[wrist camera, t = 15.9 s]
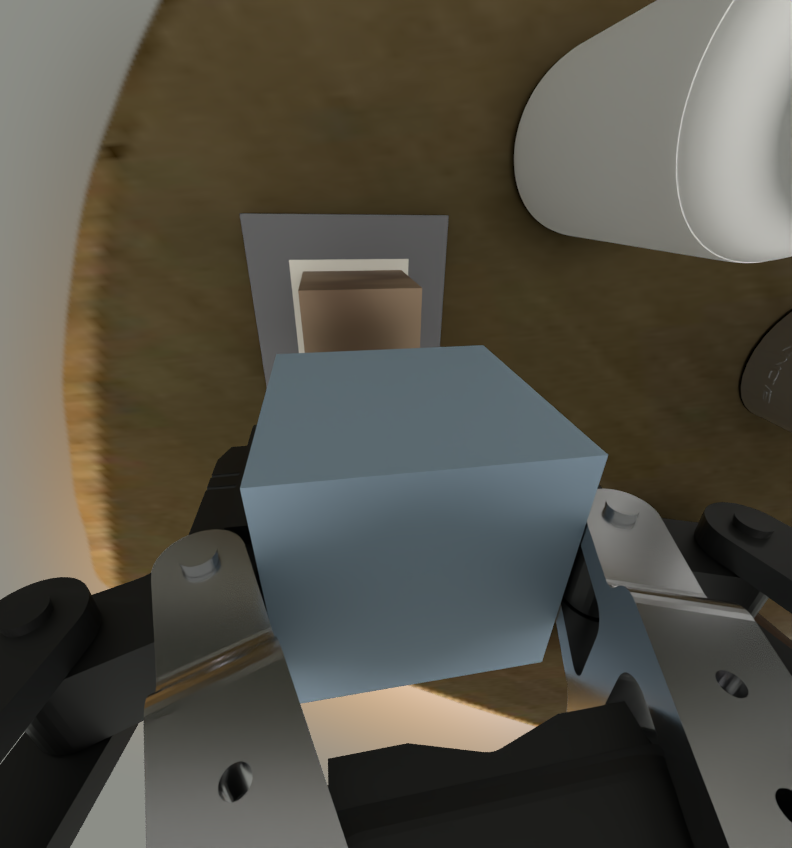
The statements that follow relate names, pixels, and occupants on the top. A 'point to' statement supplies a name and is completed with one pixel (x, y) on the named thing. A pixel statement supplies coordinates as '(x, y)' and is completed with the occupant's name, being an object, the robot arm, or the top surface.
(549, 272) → the top surface
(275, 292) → the mat
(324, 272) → the walnut block
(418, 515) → the blue block
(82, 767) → the robot arm
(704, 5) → the pill bottle
